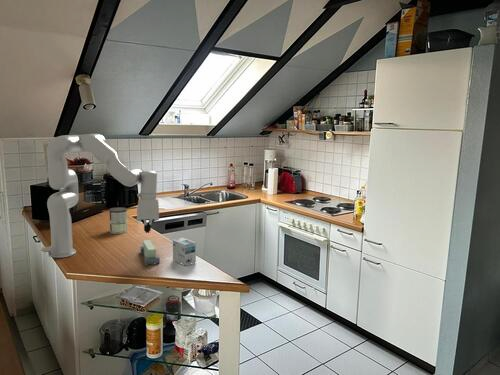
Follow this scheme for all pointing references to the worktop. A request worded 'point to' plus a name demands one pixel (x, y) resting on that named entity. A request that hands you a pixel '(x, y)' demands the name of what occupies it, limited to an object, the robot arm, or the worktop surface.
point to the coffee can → (118, 220)
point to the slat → (149, 249)
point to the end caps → (150, 260)
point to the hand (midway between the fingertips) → (147, 232)
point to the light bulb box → (184, 251)
